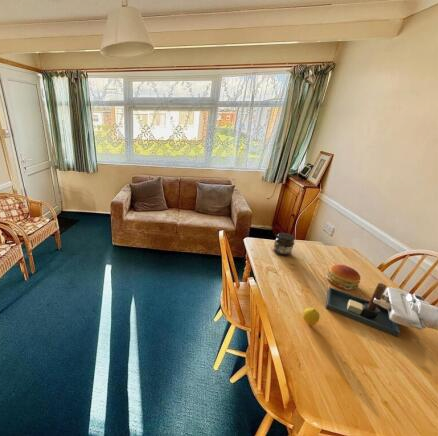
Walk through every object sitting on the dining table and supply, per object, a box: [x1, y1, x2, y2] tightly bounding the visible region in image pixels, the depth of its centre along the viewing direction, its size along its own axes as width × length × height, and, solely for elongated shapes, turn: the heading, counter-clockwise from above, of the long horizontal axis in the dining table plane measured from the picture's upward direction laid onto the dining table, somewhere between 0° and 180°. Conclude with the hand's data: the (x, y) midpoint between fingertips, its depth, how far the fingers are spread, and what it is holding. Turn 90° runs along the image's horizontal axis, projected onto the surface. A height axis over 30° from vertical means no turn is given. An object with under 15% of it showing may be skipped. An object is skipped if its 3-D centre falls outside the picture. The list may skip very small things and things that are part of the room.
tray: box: [325, 286, 401, 338], centre depth 103 cm, size 24×15×3 cm, turn 51°
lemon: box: [302, 307, 320, 325], centre depth 97 cm, size 6×6×8 cm
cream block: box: [347, 300, 363, 315], centre depth 104 cm, size 4×4×3 cm
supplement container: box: [272, 232, 296, 257], centre depth 145 cm, size 10×10×12 cm
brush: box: [361, 282, 388, 318], centre depth 98 cm, size 5×5×16 cm
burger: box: [325, 264, 361, 291], centre depth 119 cm, size 13×14×10 cm
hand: (373, 297), depth 98 cm, fingers closed on brush, 2 cm apart
